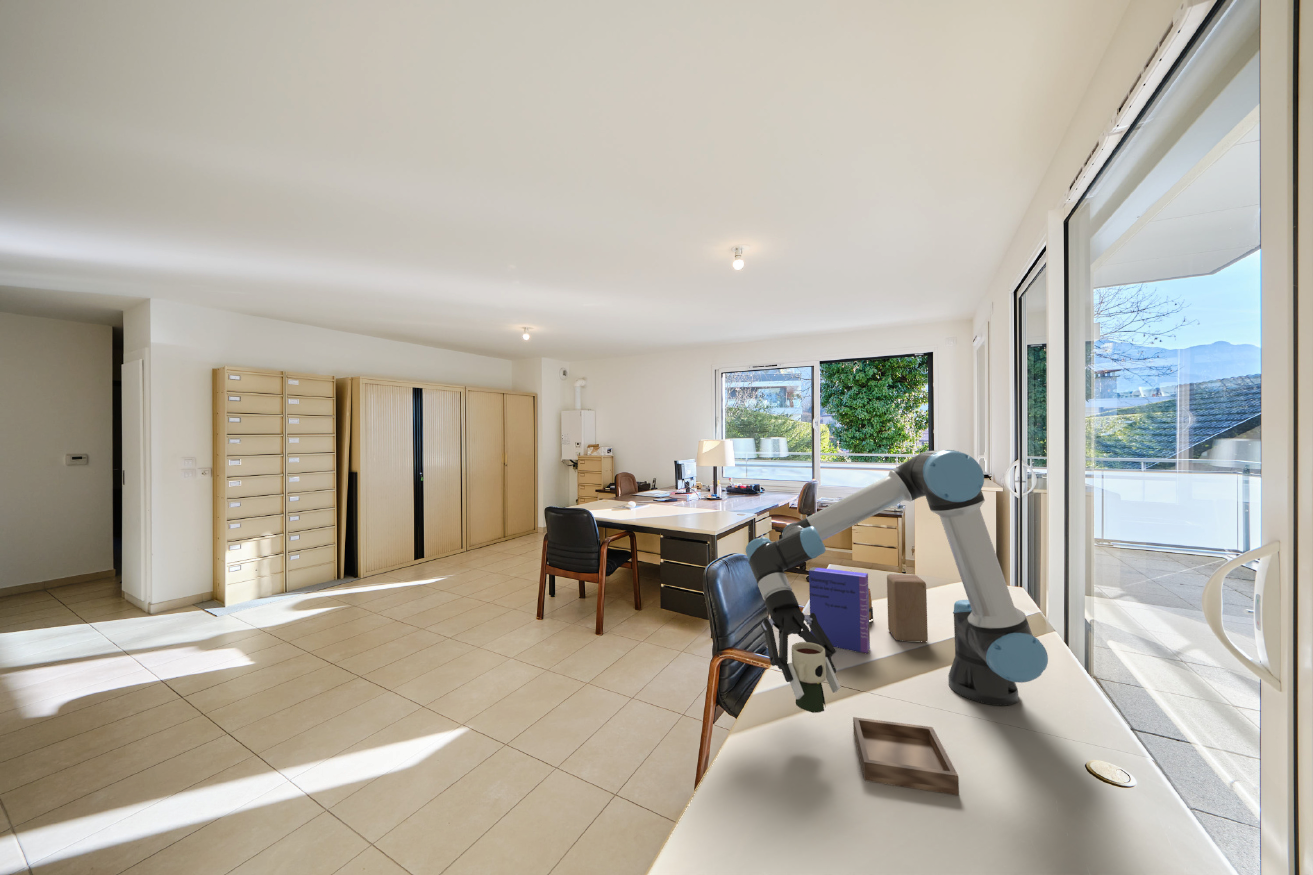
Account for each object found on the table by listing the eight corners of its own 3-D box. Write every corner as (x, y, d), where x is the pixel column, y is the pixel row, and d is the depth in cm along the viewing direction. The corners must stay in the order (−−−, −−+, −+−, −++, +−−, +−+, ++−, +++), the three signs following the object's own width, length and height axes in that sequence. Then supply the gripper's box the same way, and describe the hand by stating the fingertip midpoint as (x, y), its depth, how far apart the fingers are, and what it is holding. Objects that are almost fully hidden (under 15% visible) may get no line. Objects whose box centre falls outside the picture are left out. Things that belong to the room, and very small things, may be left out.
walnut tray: (933, 743, 103) (932, 726, 103) (959, 795, 87) (958, 775, 87) (853, 732, 107) (853, 716, 107) (864, 780, 91) (864, 761, 92)
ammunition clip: (860, 628, 170) (859, 594, 170) (855, 626, 171) (854, 593, 171) (873, 620, 177) (872, 588, 177) (868, 619, 178) (867, 587, 178)
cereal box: (869, 648, 152) (867, 572, 153) (867, 653, 148) (865, 576, 149) (814, 637, 161) (812, 566, 162) (810, 642, 157) (808, 569, 158)
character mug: (819, 724, 98) (816, 661, 99) (786, 714, 102) (783, 653, 103) (834, 701, 107) (831, 642, 107) (802, 692, 111) (800, 636, 112)
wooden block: (928, 643, 155) (927, 582, 156) (895, 641, 157) (894, 580, 158) (918, 632, 165) (916, 574, 166) (887, 630, 167) (885, 573, 168)
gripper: (810, 599, 123) (853, 692, 107) (735, 608, 117) (768, 707, 101) (821, 584, 118) (868, 679, 102) (743, 592, 112) (780, 694, 96)
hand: (818, 693), depth 102 cm, fingers closed on character mug, 8 cm apart
